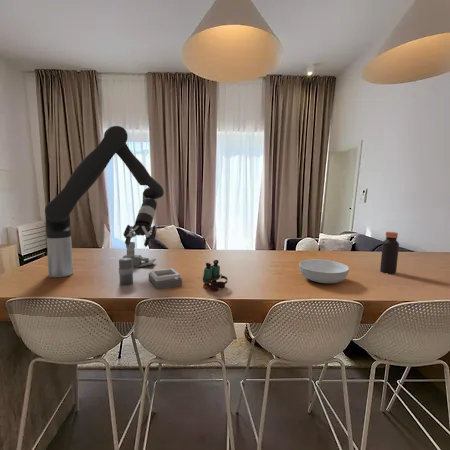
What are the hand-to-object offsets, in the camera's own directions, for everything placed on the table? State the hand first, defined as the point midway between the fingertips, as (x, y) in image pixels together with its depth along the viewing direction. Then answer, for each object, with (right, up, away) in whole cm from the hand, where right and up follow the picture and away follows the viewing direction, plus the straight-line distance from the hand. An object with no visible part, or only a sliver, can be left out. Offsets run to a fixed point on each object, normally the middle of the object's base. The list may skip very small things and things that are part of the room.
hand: (136, 245), depth 120 cm
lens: (-1, -15, -9) cm, 17 cm away
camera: (-4, -12, +18) cm, 22 cm away
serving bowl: (+83, -16, 0) cm, 85 cm away
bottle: (+120, -15, +13) cm, 122 cm away
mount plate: (+14, -15, -6) cm, 21 cm away
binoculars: (+36, -16, -12) cm, 41 cm away
